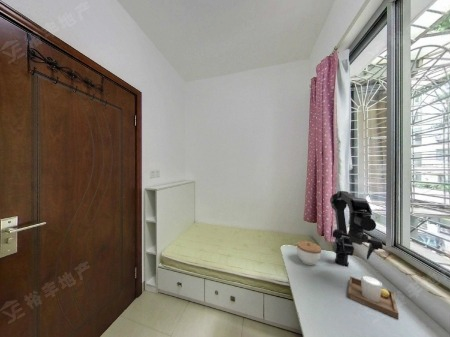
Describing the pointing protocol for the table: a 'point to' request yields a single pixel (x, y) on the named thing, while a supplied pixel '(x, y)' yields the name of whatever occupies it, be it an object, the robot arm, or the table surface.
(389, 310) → the tray
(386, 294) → the ball
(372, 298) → the white cup
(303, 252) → the lidded bowl
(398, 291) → the table surface
